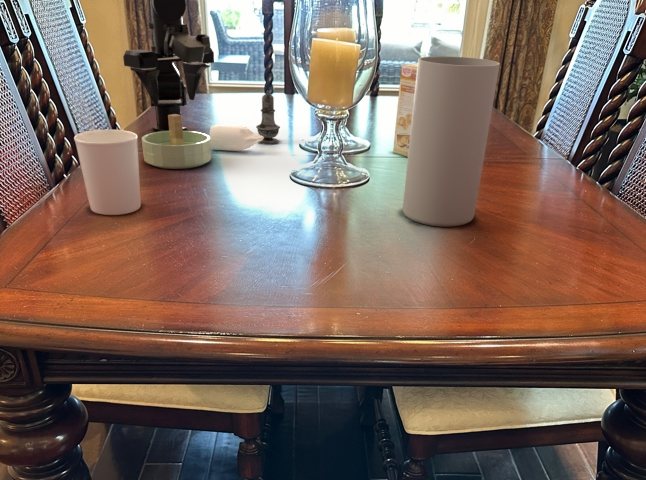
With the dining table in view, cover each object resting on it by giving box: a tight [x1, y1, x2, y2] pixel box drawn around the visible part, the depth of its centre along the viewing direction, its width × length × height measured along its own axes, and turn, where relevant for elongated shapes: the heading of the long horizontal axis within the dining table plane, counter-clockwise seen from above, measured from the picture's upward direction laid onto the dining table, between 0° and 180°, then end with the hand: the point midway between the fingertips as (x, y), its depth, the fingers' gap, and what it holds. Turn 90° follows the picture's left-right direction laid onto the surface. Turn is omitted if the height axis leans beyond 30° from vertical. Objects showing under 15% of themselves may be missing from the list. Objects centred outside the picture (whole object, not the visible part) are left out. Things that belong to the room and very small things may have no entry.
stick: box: [168, 114, 184, 145], centre depth 130 cm, size 2×2×9 cm
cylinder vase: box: [402, 55, 501, 228], centre depth 101 cm, size 12×12×25 cm
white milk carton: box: [208, 124, 264, 152], centre depth 141 cm, size 6×12×6 cm, turn 83°
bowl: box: [141, 130, 212, 170], centre depth 131 cm, size 14×14×5 cm
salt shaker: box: [255, 89, 281, 145], centre depth 148 cm, size 6×6×12 cm
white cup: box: [73, 129, 142, 216], centre depth 102 cm, size 10×10×12 cm
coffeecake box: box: [392, 63, 418, 158], centre depth 143 cm, size 15×7×20 cm, turn 131°
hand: (174, 102), depth 127 cm, fingers open, 9 cm apart
